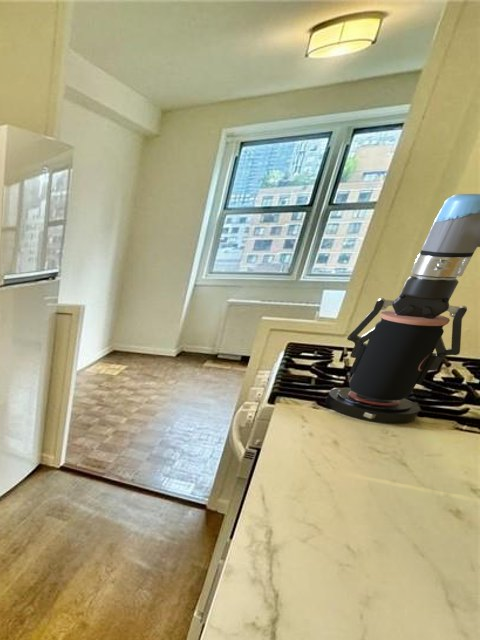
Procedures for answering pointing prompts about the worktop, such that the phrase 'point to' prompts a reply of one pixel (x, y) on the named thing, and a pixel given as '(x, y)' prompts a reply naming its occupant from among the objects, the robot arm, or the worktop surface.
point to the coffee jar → (396, 355)
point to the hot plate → (371, 407)
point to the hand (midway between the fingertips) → (384, 376)
